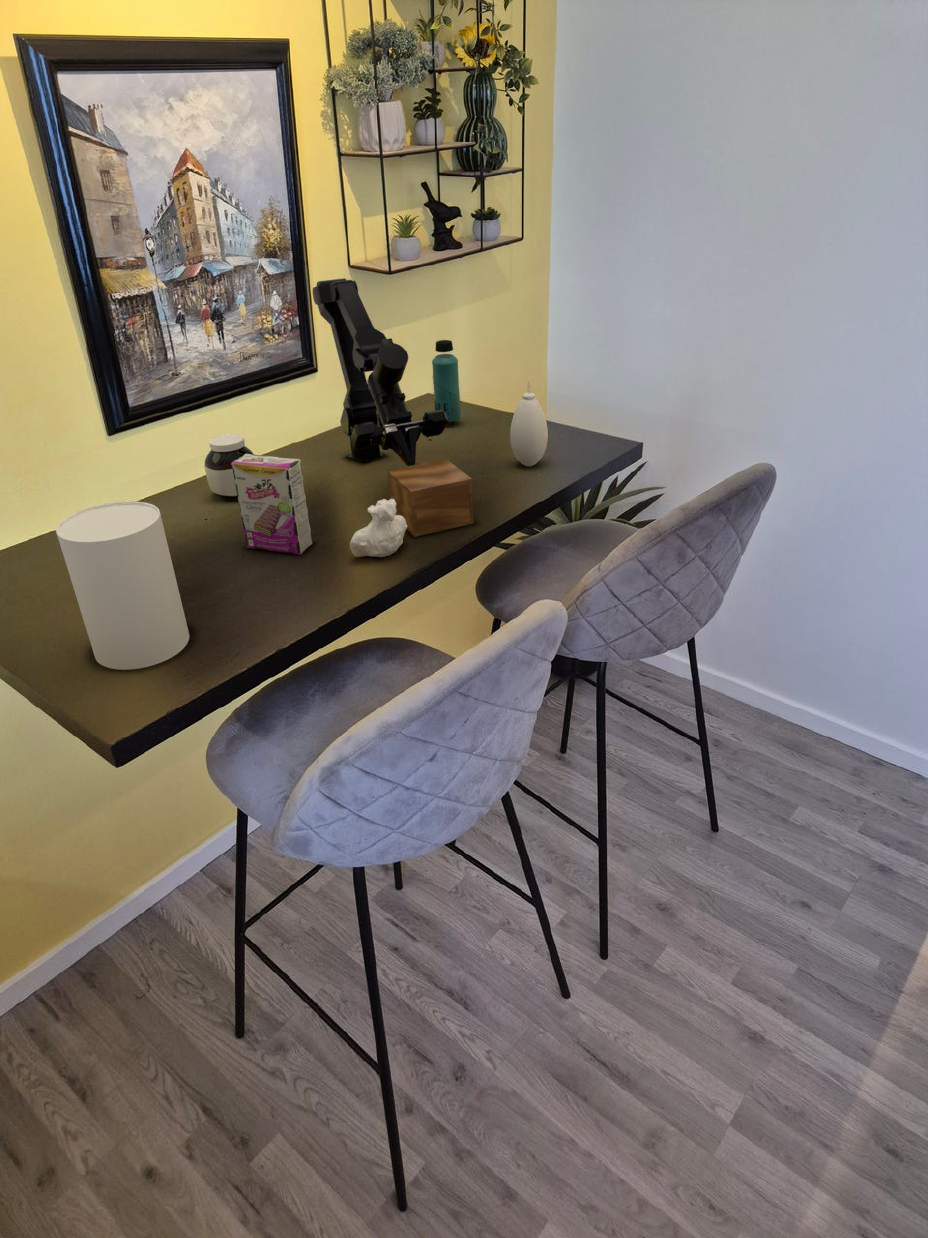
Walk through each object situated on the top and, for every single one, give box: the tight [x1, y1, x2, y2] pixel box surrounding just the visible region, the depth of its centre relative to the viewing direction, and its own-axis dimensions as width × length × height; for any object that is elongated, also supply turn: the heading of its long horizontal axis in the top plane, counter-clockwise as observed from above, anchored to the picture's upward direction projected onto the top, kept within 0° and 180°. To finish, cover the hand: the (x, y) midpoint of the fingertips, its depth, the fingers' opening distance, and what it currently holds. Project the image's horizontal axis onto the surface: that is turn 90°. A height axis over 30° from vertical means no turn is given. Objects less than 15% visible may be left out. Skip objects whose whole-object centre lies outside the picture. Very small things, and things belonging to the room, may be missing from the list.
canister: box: [55, 500, 190, 671], centre depth 123 cm, size 14×14×20 cm
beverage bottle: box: [431, 339, 462, 423], centre depth 207 cm, size 6×7×20 cm
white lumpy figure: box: [349, 498, 407, 558], centre depth 149 cm, size 12×8×11 cm
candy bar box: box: [231, 454, 313, 555], centre depth 151 cm, size 11×5×16 cm, turn 71°
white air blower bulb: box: [509, 380, 549, 467], centre depth 181 cm, size 8×8×18 cm
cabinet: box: [387, 458, 475, 538], centre depth 161 cm, size 12×12×9 cm
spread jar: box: [204, 433, 255, 501], centre depth 177 cm, size 12×11×12 cm
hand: (412, 468), depth 167 cm, fingers closed, pressing on drawer
